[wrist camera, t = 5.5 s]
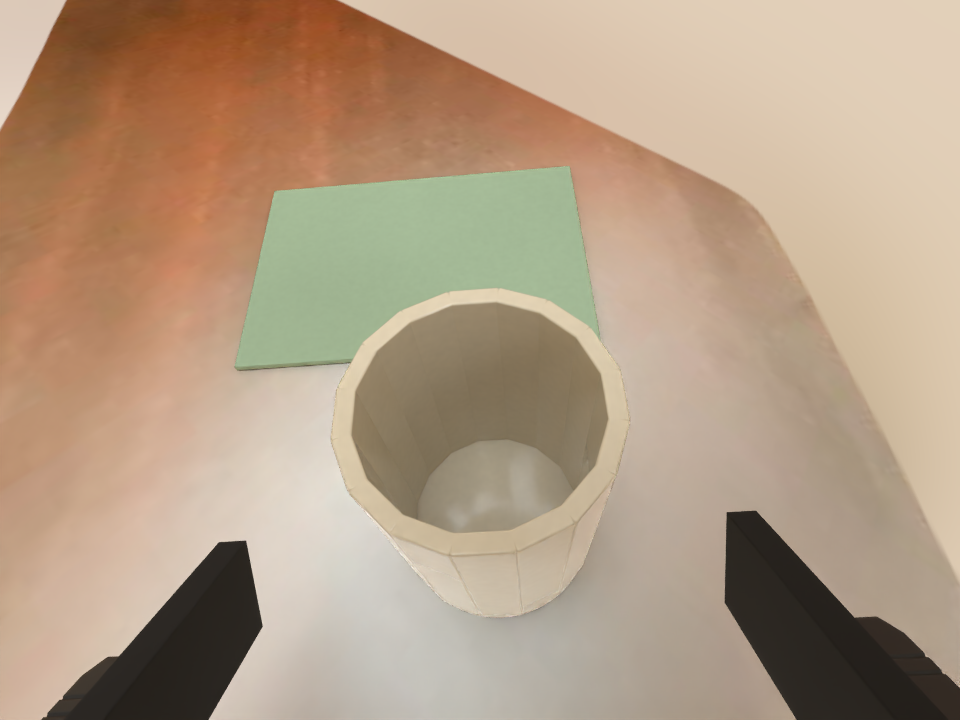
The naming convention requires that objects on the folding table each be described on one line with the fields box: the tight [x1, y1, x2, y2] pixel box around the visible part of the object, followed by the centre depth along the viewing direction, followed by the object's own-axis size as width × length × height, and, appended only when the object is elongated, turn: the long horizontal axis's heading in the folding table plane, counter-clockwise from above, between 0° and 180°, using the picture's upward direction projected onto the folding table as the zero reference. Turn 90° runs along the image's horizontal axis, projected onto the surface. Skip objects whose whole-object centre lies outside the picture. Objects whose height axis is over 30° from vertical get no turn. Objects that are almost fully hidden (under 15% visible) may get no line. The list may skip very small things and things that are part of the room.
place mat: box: [235, 166, 601, 370], centre depth 34 cm, size 20×14×1 cm
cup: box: [331, 288, 630, 618], centre depth 21 cm, size 8×8×12 cm
